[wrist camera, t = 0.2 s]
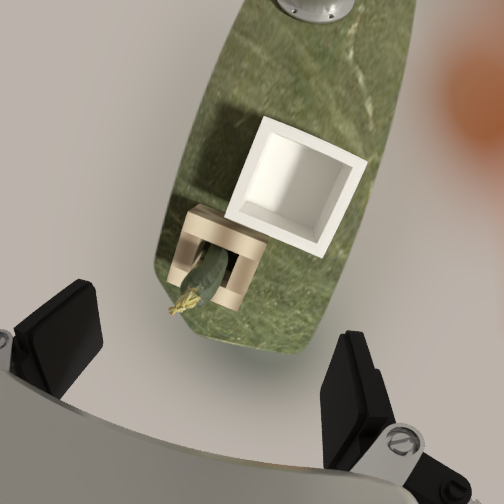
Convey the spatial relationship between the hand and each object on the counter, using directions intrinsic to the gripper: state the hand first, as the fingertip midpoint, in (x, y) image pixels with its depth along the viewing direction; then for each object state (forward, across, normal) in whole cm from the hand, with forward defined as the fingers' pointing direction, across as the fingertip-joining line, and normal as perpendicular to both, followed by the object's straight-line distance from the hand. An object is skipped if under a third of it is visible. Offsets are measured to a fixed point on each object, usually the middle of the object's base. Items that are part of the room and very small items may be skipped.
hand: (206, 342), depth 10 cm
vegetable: (+38, +6, +11) cm, 40 cm away
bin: (+37, -3, -2) cm, 37 cm away
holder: (+37, +6, +11) cm, 39 cm away
